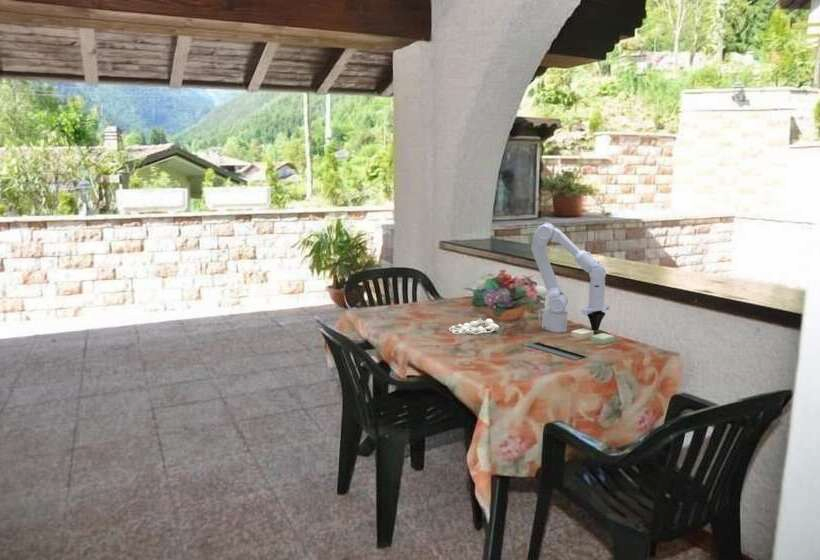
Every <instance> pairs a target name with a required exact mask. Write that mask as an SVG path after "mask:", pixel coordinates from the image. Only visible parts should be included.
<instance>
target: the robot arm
mask: <svg viewBox="0 0 820 560" xmlns="http://www.w3.org/2000/svg"><path fill="white" fill-rule="evenodd" d="M532 238H533V239H532V244H531V246H530V247H531V248H530V249H531V252H532V255H533V259H534V260H535V263H536V266H537V267H538V270H539V272H540V275H541V278H542V280H543V281H542V282H543V284H544V287H545V288H546V290H547V297H548V306H549V309H546V310H544V312H543V313H542V317H541V329H542V330H546V331H550V332H552V333H565V332H567V331H568V311H569V310H567V308H566V307H567V305H568V302H569V299H568V297H567V295H565V293H563V290H562V288H561V287H560V285H559V283H558V280H557V277H556V274H555V272H554V270H553V267H552V265H551V262H550V259H549V256H548V253H547V252H546V247H547V245H548V243H549V241H550V242H552V243H558V244H560V245H561V246H562V247H563V248H564V249H565V250H567V251H568V252H569V253H570V254H571V255H572V256H573V257H574V262H575V263H576V264H577V265H578V266H579V267H580V268H581V269H582V270H584V271H585V272H586V273H589V274H588V275H589V278H590V282H589V290H588V291H589V292H588V306H586V307H585V308H582V310H581V311H582V312H581V315H585V316H587V318H588V320H589V323H590V328H591V330H592V331H594V332H595V331H596V332H598V331H599V330H600V325H601V323H602V320H603V319H604V317H605V316H606V312H605V311H609V310H610V306H611V305H610V304H606V303H605V296H606V293H605V292H606V284H605V283H606V276H607V269H606V267H605V265H603V264H602V263H601V261H599V260H598V261H597V260H596V258H594V257H593V256H592V255H591V254H592V253H591V252H590V251H587V250H582V249H580V248H578V247H577V245H576V244H574V242H572V240H571V239H569V237H568V236H567V235H565V234H564V233H563V231H561V230H560V229H559V228H557V227H555V226H554V224H552V223H551V222H545V223H543V224H541V225H539V226H537V228H536V230H535V232H534V233H533V237H532Z"/></svg>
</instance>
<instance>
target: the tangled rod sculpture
mask: <svg viewBox="0 0 820 560" xmlns="http://www.w3.org/2000/svg"><path fill="white" fill-rule="evenodd" d="M494 322H495V321H494V320H493V319H492V318H486V319H485V320H483V319H482V318H478V319H477V320H471V321H470V322H465V323H463V324H461V323H458V324H456V325H455V324H454V325H452V326H451V327H449V328H448V330H449V332H451V333H452V334H454V335H459V334H460V335H461V334H462V335H463V334H474V335H478V334H483V333H489V334H490V333H492V332H495V331H497V330H499V329H500V326H499V325H498V324H497V323H494ZM483 323H484V326H485V327H483V325H481V324H483ZM478 325H479V326H478ZM487 330H488V331H487ZM489 330H491V331H489Z"/></svg>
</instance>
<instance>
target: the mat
mask: <svg viewBox="0 0 820 560" xmlns="http://www.w3.org/2000/svg"><path fill="white" fill-rule="evenodd" d="M526 346H527V347H529V348H532V349H535V350H539V351H543V352H545V353H547V354H548V353H549V354H553V355H556V356H559V357H561V358H565V359H568V358H569V360H572V359H573V361H575V360H576V361H579V360H582V358H583V359H586V358H588V356H587V355H583V354H579V353H575V352H573V351H570V350H566V349H562V348H558V347H555V346H551V345H547V344H545V343H540V342H533V343H529V344H526ZM585 357H586V358H585ZM578 359H579V360H578Z"/></svg>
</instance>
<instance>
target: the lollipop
mask: <svg viewBox="0 0 820 560" xmlns="http://www.w3.org/2000/svg"><path fill="white" fill-rule="evenodd" d="M535 287H536V290H537V292H538V294H539V295H540V296H541V297H542V298H543V299H545V298H546V297H547V296H548V293H547V289H546V286H542V285H537V286H535ZM540 318H541V308H540V309H539V308H538V320H540Z"/></svg>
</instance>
